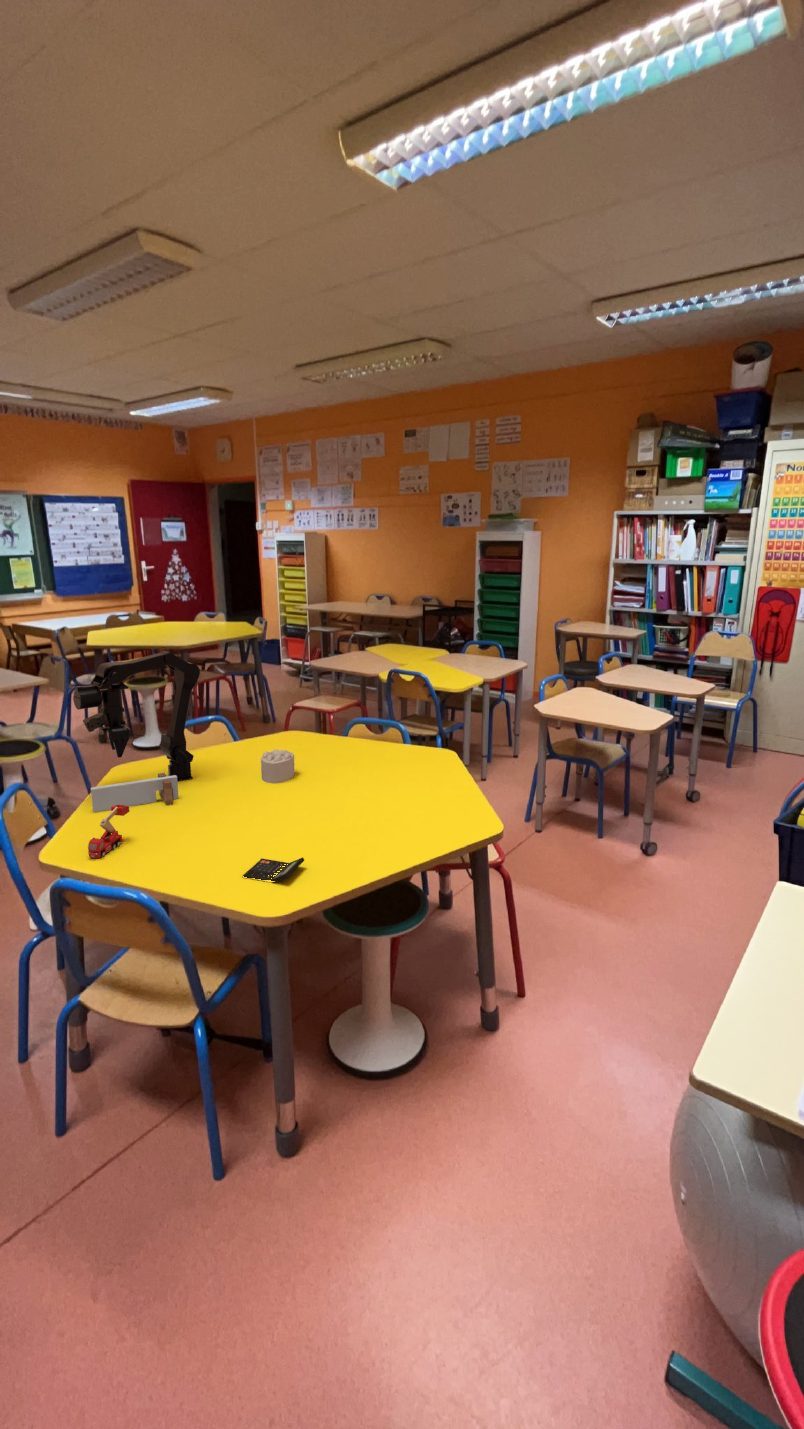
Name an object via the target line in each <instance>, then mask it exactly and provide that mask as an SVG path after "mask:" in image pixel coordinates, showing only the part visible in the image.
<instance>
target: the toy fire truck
mask: <svg viewBox="0 0 804 1429" xmlns="http://www.w3.org/2000/svg"><path fill="white" fill-rule="evenodd" d="M110 811H111V812H109V813H108V815H107V816H106V817H105V818H102V820H101V821H100V825H99V826H100V827H101V828H102V829H103V830H105V831H104V832H103V834H101V836H100V838H96V837H92V838H91V839H89V842H88V845H87V849H88V850H87V852H88V854H87V855H88V857H90V858H94V859H99V858H104V857H105V856H106V854H107V853H109V852H110V851H111V850H115V849H116V847H120V845H121V844H122V843H123V835H122V834H119V831H118V830H117V829H116V828H115V827H114V826H113V824H112V823H111V822H110V820H112V818H113V817H114V816H122V817H124V816H125V815H127V814H128V813H130V807H129V806H126V805H115V806H111V810H110Z"/></svg>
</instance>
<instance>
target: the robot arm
mask: <svg viewBox="0 0 804 1429" xmlns="http://www.w3.org/2000/svg"><path fill="white" fill-rule="evenodd" d="M163 666H166V667H167V668H169V669H170V670H172V671H174V682H175V686H176V690H175V695H174V700H173V706H172V711H171V717H170V723H169V728H168V730H167V732H166V733H165V734H164V733H161V735H160V742H159V744H158V745H159V747H160V751H161V753H162V754H163V755H164V756H166V759H168V760H169V761H168V762H169V764H168V765H167V771H168V772H167V773H168V775H167V776H173V775H176V776H177V782H179V781H186V780H192V779H193V778H194V777H193V776H192V767H191V766H192V765H191V763H192V762H193V760H194V757H195V756H194V754H192V753H191V752H190V751H188V750H187V740H186V739H187V738H186V736H185V729H186V722H187V716H188V712H189V707H190V701H191V694H192V690H194V688H195V687H196V685H197V683H198V681H199V678H200V676H201V675H200V674H201V668H200V667H199V666H198V665H197V664H196V663H192V662H188V661H187V660H184V659H182V658H180V657H178V656H176V655H175V654H174V653H172V652H170V651H165V650H164V651H163V650H162V651H161V652H158V653H153V654H151V655H146V656H142V657H138V658H134V659H131V660H127V661H111V662H103V663H101V664H99V665H98V666H97V669H96V673H95V675H94V677H93V679H92V680H91V682H90V683H89V685H83V686H82V685H77V686H75V687H74V689H75V690H74V692H73V696H72V700H73V704H74V708H75V709H76V710H85V709H91V708H92V709H93V708H98V707H100V705H101V707H100V712H99V713H96V714H94V715H91V716H88V717H85V718H84V719H82V722H83V724H84V726H85V728H86V730H87V732H88V733H91V732H94V731H95V730H97V729H99V728H100V729H101V730H102V731H103V732H104V733H105V734H107V735H106V736H107V739H108V741H109V744H110V746H111V749H112V751H115V753H116V756H117V758H118V759H119V758H122V756H123V754H124V752H125V750H126V746H127V745H128V743H129V740H130V738H131V737H132V730H131V729H130V727H128V726H127V725H126V724H127V723H126V720H125V716H124V713H125V707H124V704H123V702H124V701H123V693H122V690H128V689H129V686H128V685H127V684H125V683H124V681H125V680H127V679H128V678H129V677H131V676H132V675H136V674H139V673H143V672H145V671H150V670H153V669H154V670H155V669H157V668H161V667H163Z"/></svg>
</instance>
